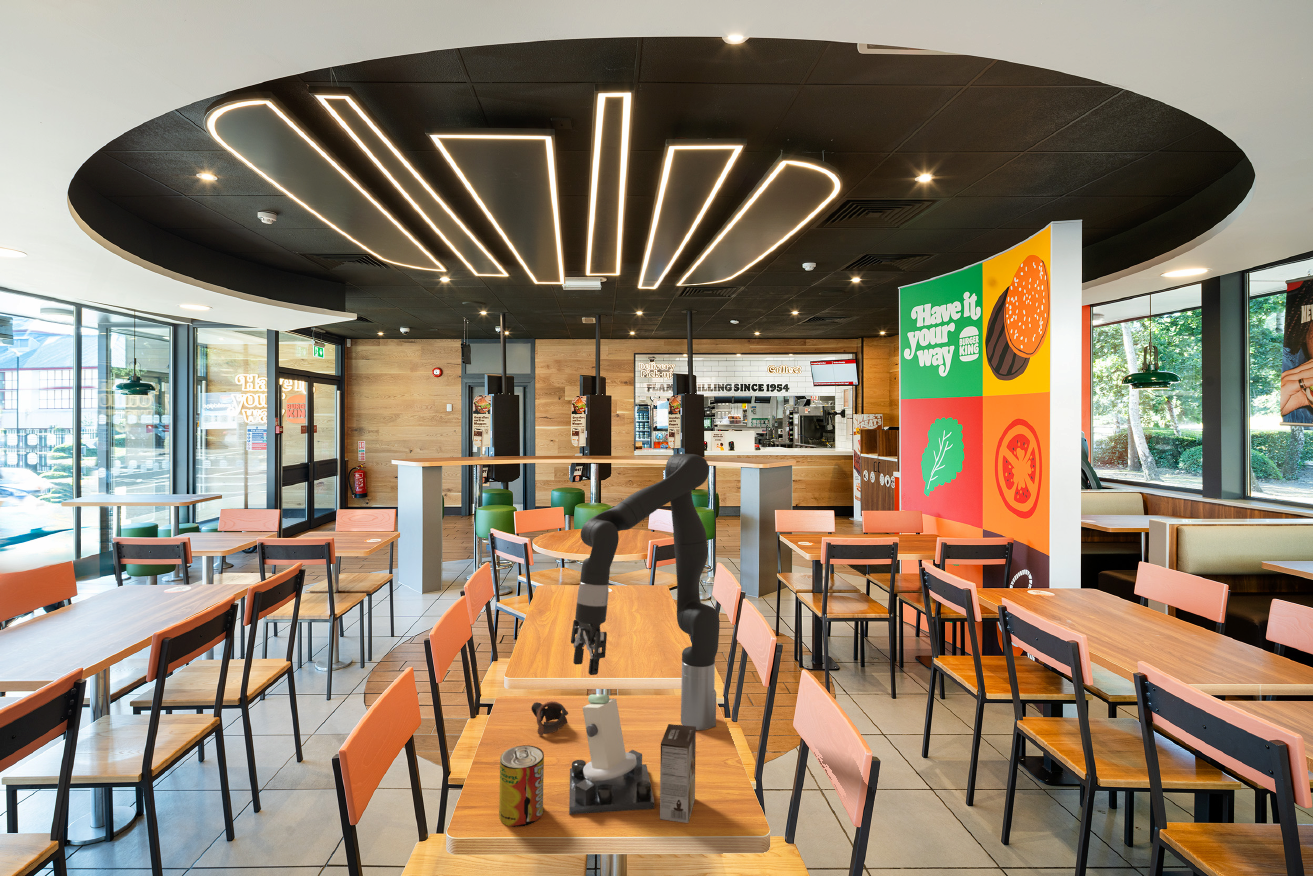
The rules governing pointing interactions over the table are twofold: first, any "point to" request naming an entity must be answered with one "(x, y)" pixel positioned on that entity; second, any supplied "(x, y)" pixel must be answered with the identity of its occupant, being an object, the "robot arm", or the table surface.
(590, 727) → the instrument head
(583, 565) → the robot arm
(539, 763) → the beverage can
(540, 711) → the brown hollow shell
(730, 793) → the table surface
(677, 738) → the coffee box
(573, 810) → the base
